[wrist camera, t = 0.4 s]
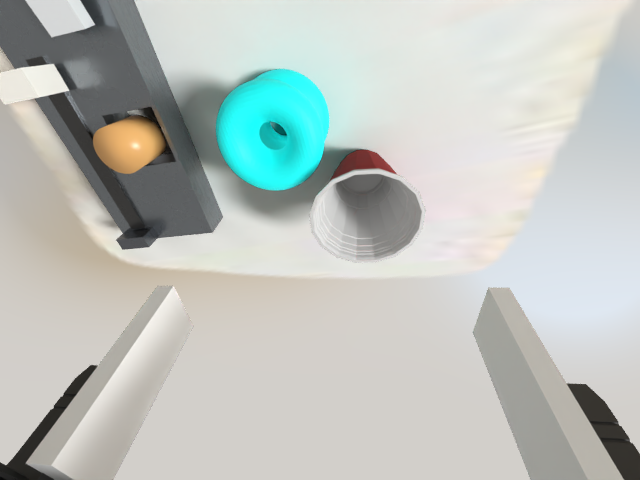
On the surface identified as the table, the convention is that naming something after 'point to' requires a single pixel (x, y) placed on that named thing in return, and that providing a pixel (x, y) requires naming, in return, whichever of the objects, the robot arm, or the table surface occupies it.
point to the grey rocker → (61, 15)
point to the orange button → (129, 143)
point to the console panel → (116, 116)
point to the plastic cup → (366, 210)
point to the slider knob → (30, 83)
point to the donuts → (262, 140)
